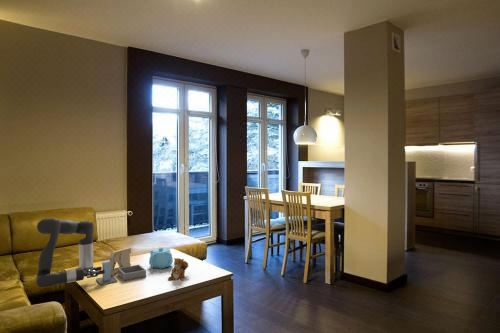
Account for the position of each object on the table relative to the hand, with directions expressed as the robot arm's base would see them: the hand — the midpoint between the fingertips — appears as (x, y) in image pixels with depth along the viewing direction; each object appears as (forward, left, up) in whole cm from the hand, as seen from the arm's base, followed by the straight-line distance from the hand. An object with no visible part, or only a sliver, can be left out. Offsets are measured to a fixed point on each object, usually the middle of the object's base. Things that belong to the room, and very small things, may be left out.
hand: (102, 269), depth 222 cm
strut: (0, +2, -7) cm, 7 cm away
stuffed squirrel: (+22, +42, -8) cm, 48 cm away
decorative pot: (-8, +41, -8) cm, 43 cm away
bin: (0, +18, -8) cm, 20 cm away
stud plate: (0, +2, -8) cm, 8 cm away
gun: (-18, +15, -8) cm, 25 cm away
